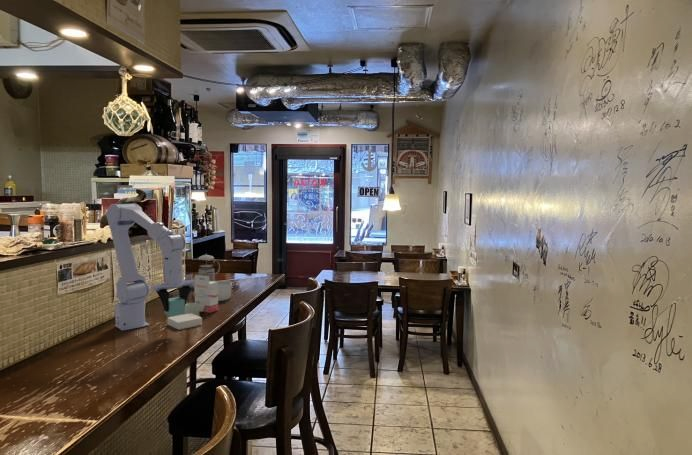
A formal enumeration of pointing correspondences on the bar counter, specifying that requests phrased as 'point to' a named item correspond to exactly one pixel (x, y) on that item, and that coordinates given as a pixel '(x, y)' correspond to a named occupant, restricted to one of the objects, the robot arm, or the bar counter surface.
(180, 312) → the teal cube
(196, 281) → the ink cartridge box
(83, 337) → the bar counter surface
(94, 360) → the bar counter surface
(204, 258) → the french press
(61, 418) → the bar counter surface
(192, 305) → the sage block
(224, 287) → the ramekin
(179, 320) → the cream slab
